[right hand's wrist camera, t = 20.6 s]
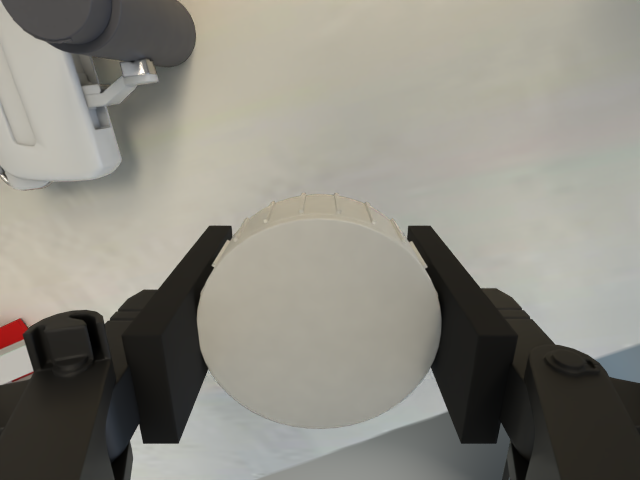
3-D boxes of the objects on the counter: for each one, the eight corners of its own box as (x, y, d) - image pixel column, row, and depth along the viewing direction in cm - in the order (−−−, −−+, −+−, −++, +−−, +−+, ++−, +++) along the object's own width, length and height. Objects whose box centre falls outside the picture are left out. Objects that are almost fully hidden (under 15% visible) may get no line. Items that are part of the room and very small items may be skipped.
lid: (440, 351, 13) (463, 403, 11) (254, 394, 13) (242, 451, 11) (399, 164, 11) (419, 182, 9) (182, 225, 11) (151, 256, 9)
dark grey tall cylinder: (121, 2, 32) (-39, -68, 18) (184, -12, 32) (74, -96, 17) (143, 72, 34) (15, 60, 20) (203, 59, 34) (118, 38, 19)
